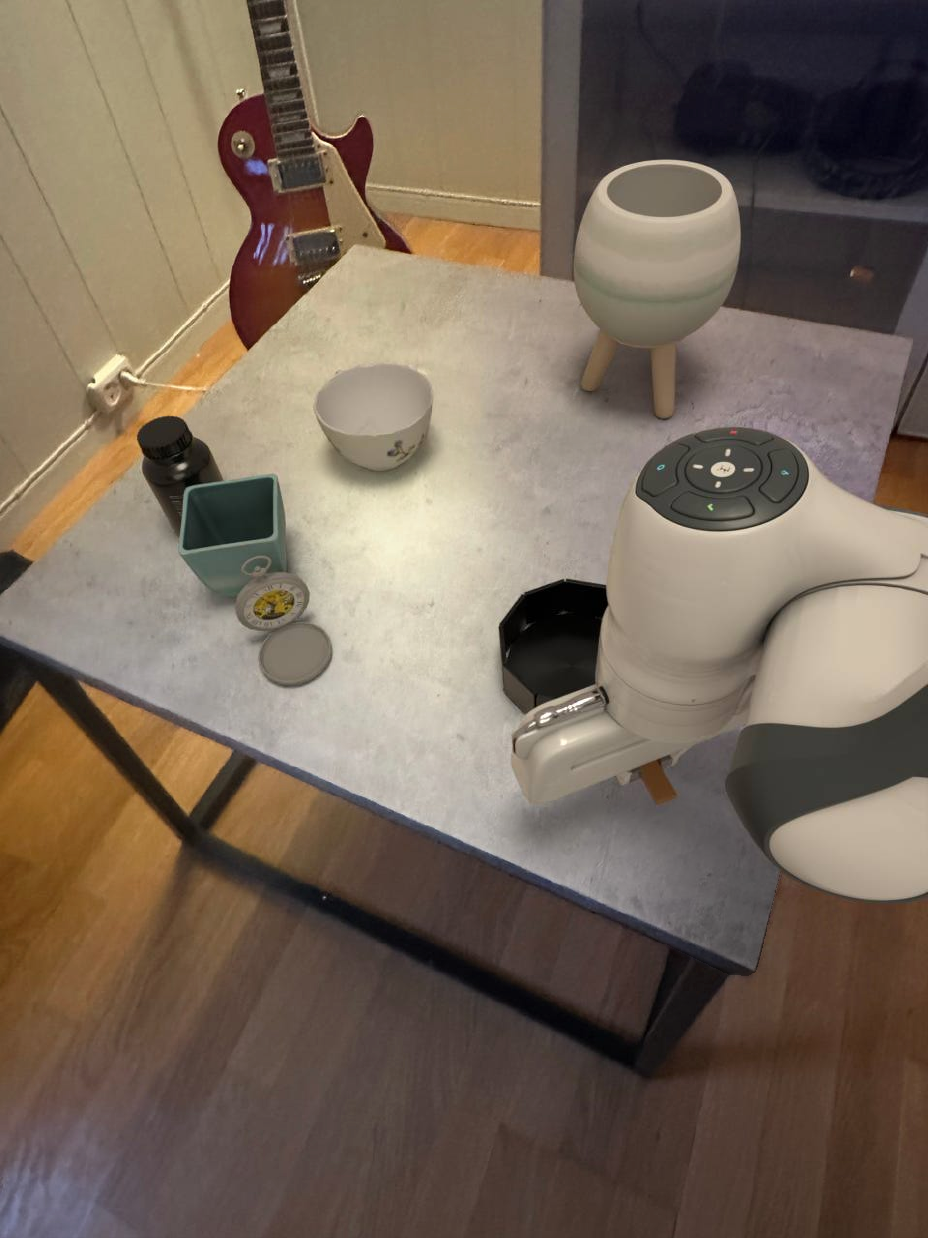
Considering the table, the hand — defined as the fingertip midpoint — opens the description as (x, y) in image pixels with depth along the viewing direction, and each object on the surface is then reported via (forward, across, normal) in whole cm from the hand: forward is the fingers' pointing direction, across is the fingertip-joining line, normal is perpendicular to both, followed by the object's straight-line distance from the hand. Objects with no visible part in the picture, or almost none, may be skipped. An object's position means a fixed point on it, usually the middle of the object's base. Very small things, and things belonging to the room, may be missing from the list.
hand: (643, 766), depth 57 cm
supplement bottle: (+4, -28, +44) cm, 52 cm away
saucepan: (+3, 0, +7) cm, 8 cm away
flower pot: (+4, -24, +34) cm, 42 cm away
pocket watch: (+4, -22, +24) cm, 33 cm away
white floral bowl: (+4, -7, +47) cm, 48 cm away
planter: (+4, +24, +44) cm, 50 cm away
